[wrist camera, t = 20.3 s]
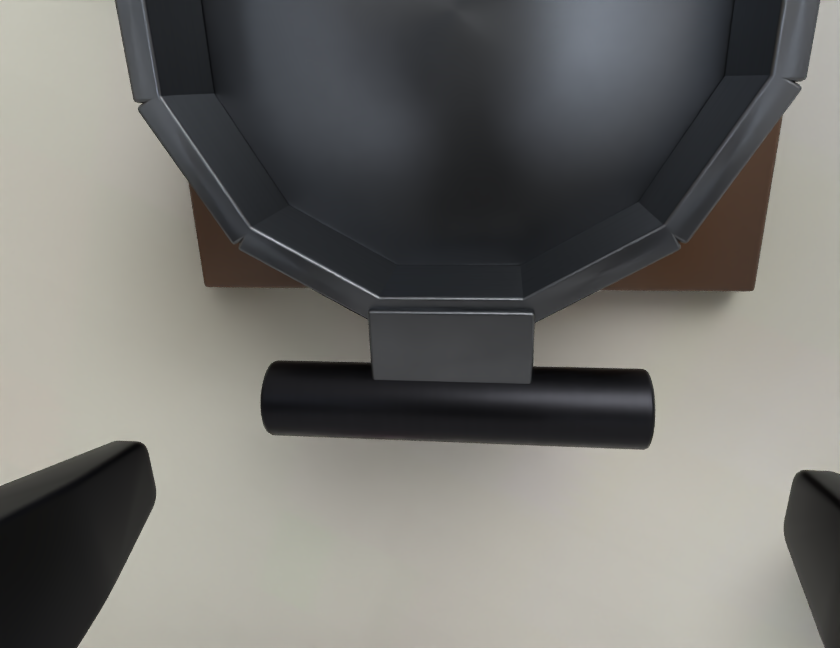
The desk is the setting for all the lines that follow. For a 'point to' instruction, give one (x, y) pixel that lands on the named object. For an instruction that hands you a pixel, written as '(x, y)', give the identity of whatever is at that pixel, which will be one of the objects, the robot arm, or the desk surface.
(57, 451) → the desk surface
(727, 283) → the dish stand
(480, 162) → the dish
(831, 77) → the desk surface
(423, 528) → the desk surface
